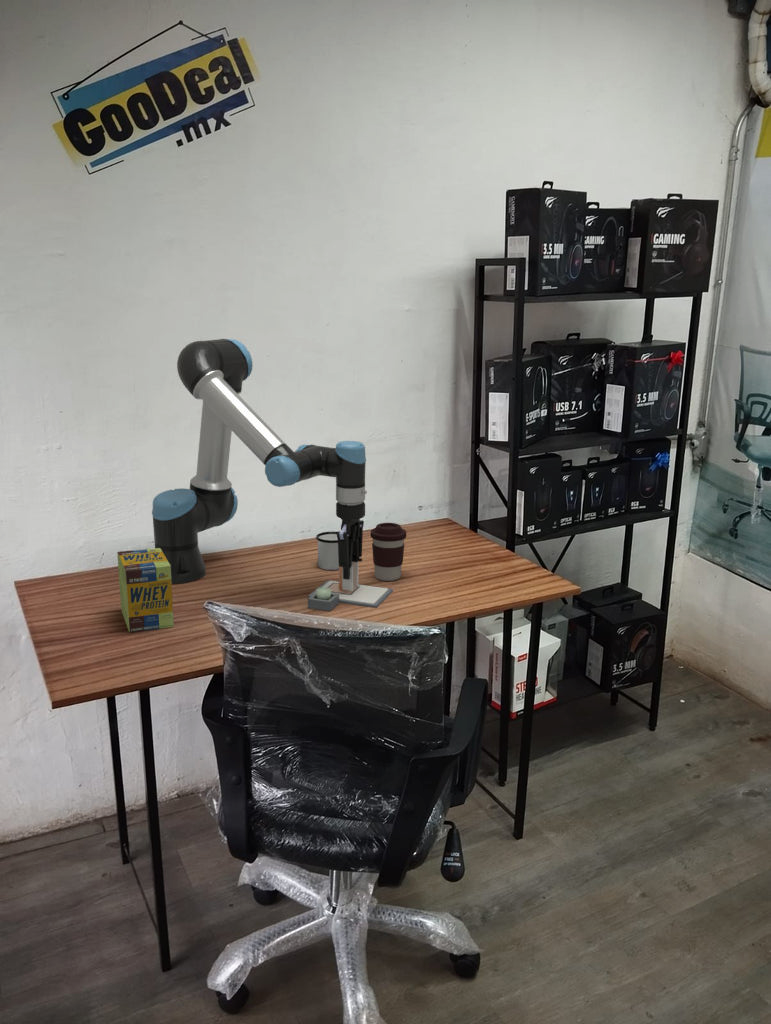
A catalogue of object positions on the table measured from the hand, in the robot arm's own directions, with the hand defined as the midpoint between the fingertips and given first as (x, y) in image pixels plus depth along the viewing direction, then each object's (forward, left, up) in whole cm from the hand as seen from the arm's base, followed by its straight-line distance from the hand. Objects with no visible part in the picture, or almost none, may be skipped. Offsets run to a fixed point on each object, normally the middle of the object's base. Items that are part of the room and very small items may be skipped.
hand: (350, 587), depth 224 cm
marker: (-2, 0, -1) cm, 2 cm away
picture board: (+1, -1, -2) cm, 2 cm away
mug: (-14, +20, -2) cm, 24 cm away
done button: (-3, -11, 0) cm, 11 cm away
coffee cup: (+5, +16, -2) cm, 16 cm away
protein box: (-39, -34, -2) cm, 52 cm away
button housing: (-3, -11, -2) cm, 11 cm away
